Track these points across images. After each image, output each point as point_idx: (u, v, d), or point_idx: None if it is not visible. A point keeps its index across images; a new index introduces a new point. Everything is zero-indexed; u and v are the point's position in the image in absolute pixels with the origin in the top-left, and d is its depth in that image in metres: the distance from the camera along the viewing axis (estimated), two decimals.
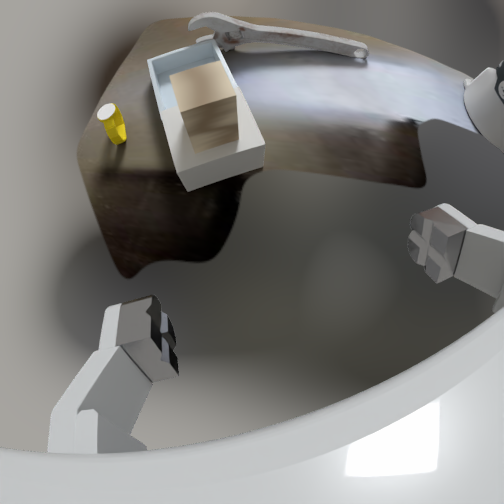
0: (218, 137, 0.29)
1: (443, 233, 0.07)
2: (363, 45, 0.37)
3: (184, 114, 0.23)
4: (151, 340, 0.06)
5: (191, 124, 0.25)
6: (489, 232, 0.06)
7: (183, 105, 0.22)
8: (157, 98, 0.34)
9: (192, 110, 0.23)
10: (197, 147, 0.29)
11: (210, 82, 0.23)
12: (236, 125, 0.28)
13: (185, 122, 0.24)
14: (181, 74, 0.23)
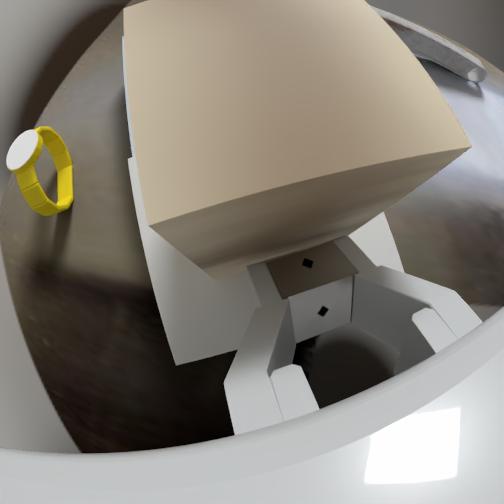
0: (294, 250, 0.10)
1: (318, 280, 0.07)
2: (480, 63, 0.19)
3: (178, 227, 0.04)
4: (320, 289, 0.07)
5: (218, 247, 0.05)
6: (388, 278, 0.06)
7: (173, 164, 0.03)
8: None
9: (235, 209, 0.04)
10: (225, 274, 0.10)
11: (333, 40, 0.04)
12: (362, 224, 0.08)
13: (188, 248, 0.05)
14: (178, 0, 0.04)
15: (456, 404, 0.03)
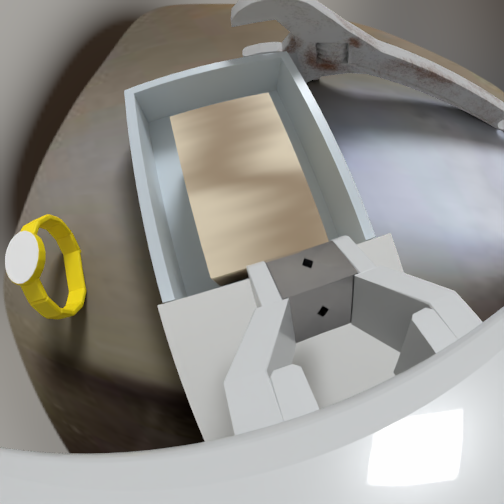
0: (265, 216, 0.12)
1: (318, 280, 0.07)
2: None
3: (176, 121, 0.13)
4: (320, 289, 0.07)
5: (191, 150, 0.12)
6: (388, 278, 0.06)
7: None
8: (146, 220, 0.13)
9: (191, 116, 0.13)
10: (214, 249, 0.12)
11: None
12: (301, 177, 0.12)
13: (179, 143, 0.12)
14: None
15: (456, 404, 0.03)
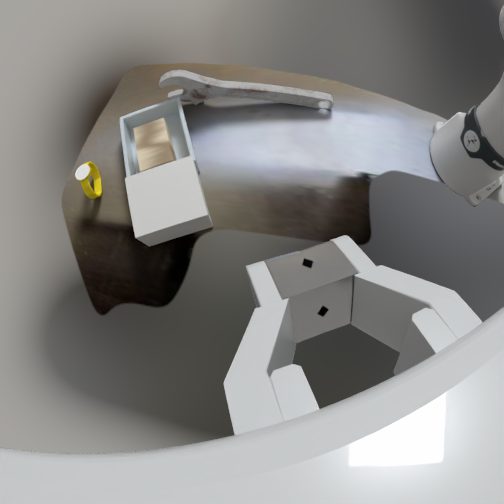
0: (156, 154, 0.39)
1: (318, 280, 0.07)
2: (327, 96, 0.45)
3: (135, 129, 0.39)
4: (320, 289, 0.07)
5: (138, 138, 0.39)
6: (388, 278, 0.06)
7: None
8: (125, 160, 0.40)
9: (139, 127, 0.39)
10: (141, 164, 0.38)
11: None
12: (168, 143, 0.39)
13: (135, 136, 0.39)
14: None
15: (456, 404, 0.03)
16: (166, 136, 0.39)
